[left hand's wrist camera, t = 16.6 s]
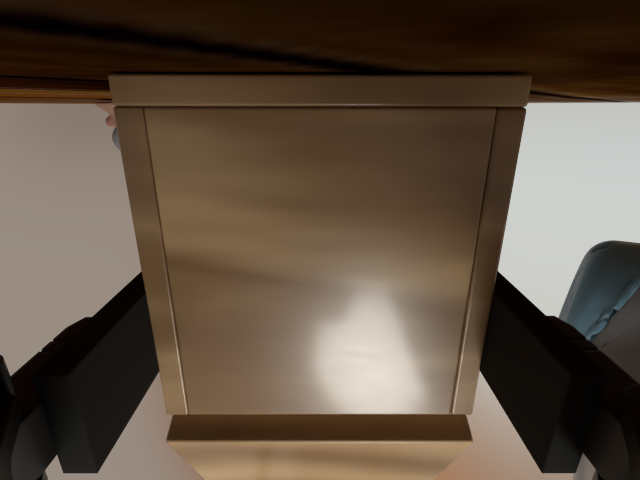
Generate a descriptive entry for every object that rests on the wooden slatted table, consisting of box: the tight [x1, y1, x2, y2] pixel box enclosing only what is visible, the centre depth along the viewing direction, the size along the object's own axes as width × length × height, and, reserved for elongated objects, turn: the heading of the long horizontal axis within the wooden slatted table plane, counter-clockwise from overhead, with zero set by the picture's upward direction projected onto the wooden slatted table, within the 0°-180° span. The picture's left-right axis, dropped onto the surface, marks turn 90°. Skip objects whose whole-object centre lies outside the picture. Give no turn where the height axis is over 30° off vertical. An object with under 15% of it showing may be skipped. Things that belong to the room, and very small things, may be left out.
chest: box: [108, 74, 532, 415], centre depth 17 cm, size 15×10×10 cm, turn 0°
